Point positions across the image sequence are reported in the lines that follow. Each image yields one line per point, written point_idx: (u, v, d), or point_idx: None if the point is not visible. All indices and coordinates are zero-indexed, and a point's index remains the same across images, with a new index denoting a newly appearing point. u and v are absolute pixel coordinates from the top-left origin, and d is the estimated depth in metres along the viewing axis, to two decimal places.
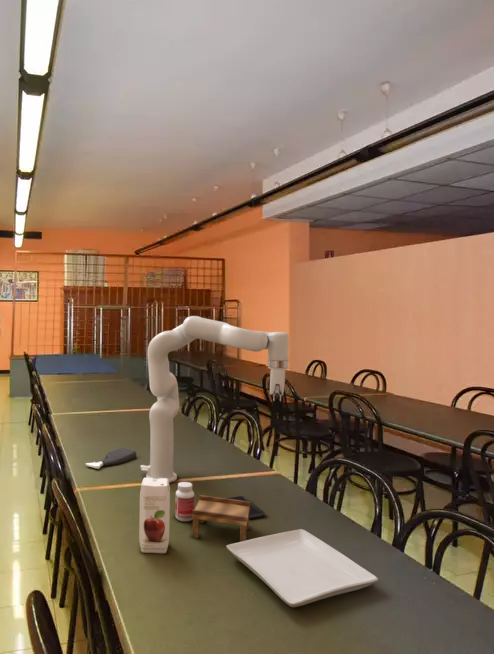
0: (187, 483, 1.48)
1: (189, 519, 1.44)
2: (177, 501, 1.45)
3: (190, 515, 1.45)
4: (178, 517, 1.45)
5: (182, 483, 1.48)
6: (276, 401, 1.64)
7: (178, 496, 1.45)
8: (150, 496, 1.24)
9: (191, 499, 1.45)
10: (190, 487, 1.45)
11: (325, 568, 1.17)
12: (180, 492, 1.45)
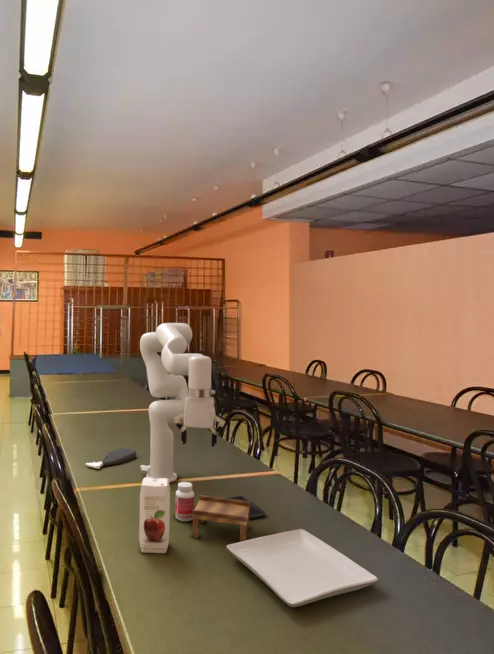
0: (187, 483, 1.48)
1: (189, 519, 1.44)
2: (177, 501, 1.45)
3: (190, 515, 1.45)
4: (178, 517, 1.45)
5: (182, 483, 1.48)
6: None
7: (178, 496, 1.45)
8: (150, 496, 1.24)
9: (191, 499, 1.45)
10: (190, 487, 1.45)
11: (325, 568, 1.17)
12: (180, 492, 1.45)
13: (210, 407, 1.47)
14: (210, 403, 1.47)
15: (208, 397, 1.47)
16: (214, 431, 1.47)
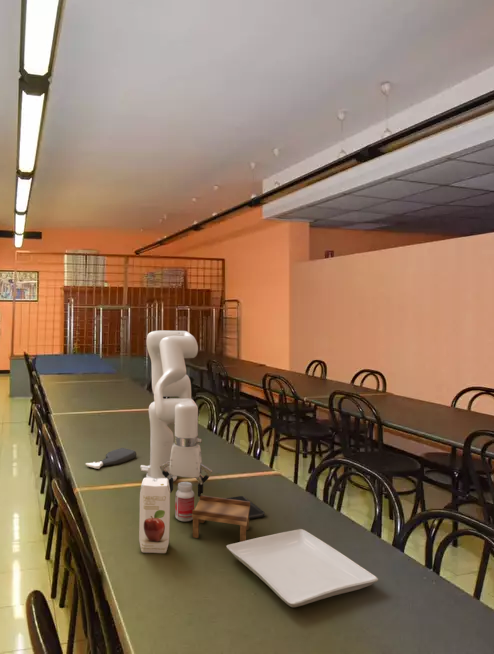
0: (187, 483, 1.48)
1: (189, 519, 1.44)
2: (177, 501, 1.45)
3: (190, 515, 1.45)
4: (178, 517, 1.45)
5: (182, 483, 1.48)
6: None
7: (178, 496, 1.45)
8: (150, 496, 1.24)
9: (191, 499, 1.45)
10: (190, 487, 1.45)
11: (325, 568, 1.17)
12: (180, 492, 1.45)
13: (196, 456, 1.44)
14: (196, 452, 1.44)
15: (194, 446, 1.44)
16: (200, 481, 1.44)
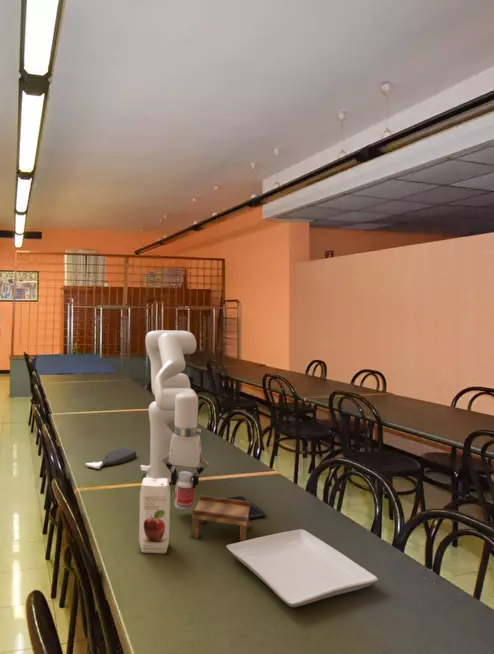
0: (188, 473, 1.49)
1: (188, 508, 1.46)
2: (177, 490, 1.46)
3: (189, 504, 1.46)
4: (177, 506, 1.46)
5: (183, 472, 1.49)
6: None
7: (178, 485, 1.46)
8: (150, 496, 1.24)
9: (191, 489, 1.46)
10: (191, 477, 1.46)
11: (325, 568, 1.17)
12: (180, 481, 1.46)
13: (196, 446, 1.44)
14: (196, 442, 1.44)
15: (194, 436, 1.44)
16: (195, 472, 1.45)
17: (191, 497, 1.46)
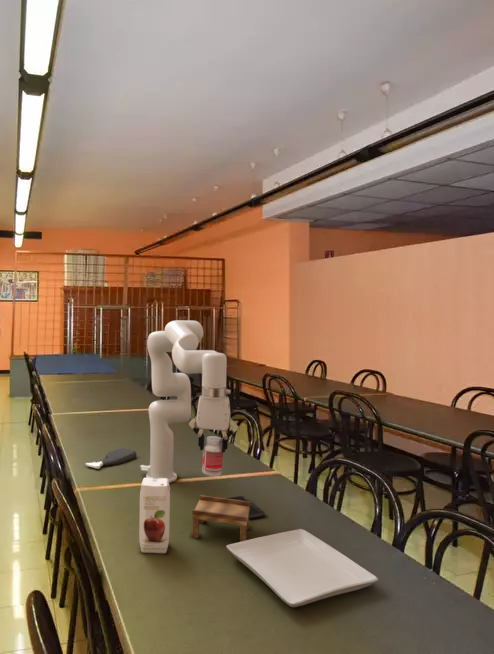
0: (216, 437, 1.41)
1: (217, 474, 1.38)
2: (205, 455, 1.39)
3: (218, 470, 1.38)
4: (205, 471, 1.39)
5: (210, 437, 1.41)
6: None
7: (206, 450, 1.38)
8: (150, 496, 1.24)
9: (220, 454, 1.38)
10: (219, 441, 1.39)
11: (325, 568, 1.17)
12: (209, 446, 1.39)
13: (225, 407, 1.37)
14: (225, 403, 1.37)
15: (223, 397, 1.37)
16: (225, 436, 1.37)
17: (220, 462, 1.38)
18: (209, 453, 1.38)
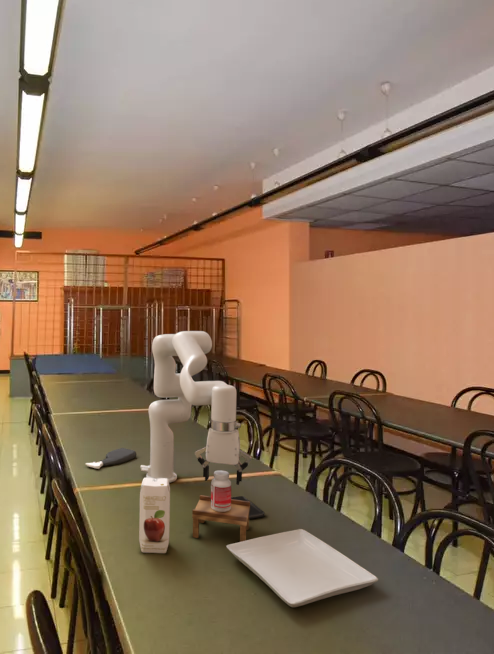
0: (223, 471, 1.39)
1: (226, 509, 1.36)
2: (213, 490, 1.37)
3: (227, 505, 1.36)
4: (214, 507, 1.36)
5: (218, 471, 1.39)
6: None
7: (214, 485, 1.36)
8: (150, 496, 1.24)
9: (228, 489, 1.36)
10: (227, 475, 1.37)
11: (325, 568, 1.17)
12: (216, 481, 1.37)
13: (235, 442, 1.34)
14: (235, 437, 1.34)
15: (233, 431, 1.35)
16: (239, 468, 1.35)
17: (229, 497, 1.36)
18: (217, 488, 1.36)
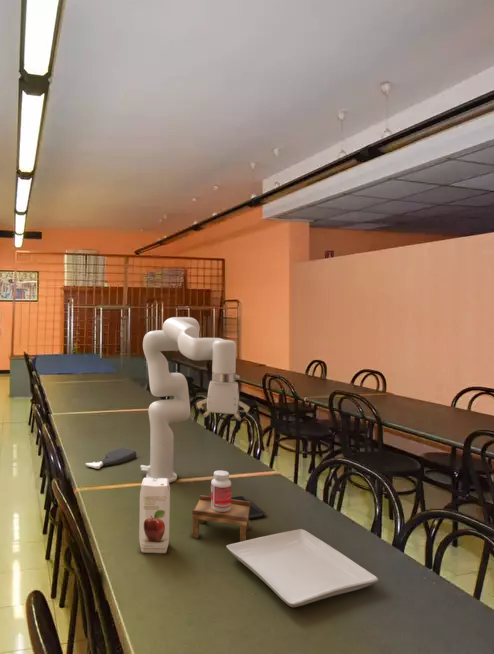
0: (223, 471, 1.39)
1: (226, 509, 1.36)
2: (213, 490, 1.37)
3: (227, 505, 1.36)
4: (214, 507, 1.36)
5: (218, 471, 1.39)
6: None
7: (214, 485, 1.36)
8: (150, 496, 1.24)
9: (228, 489, 1.36)
10: (227, 475, 1.37)
11: (325, 568, 1.17)
12: (216, 481, 1.37)
13: (234, 392, 1.43)
14: (234, 388, 1.43)
15: (232, 382, 1.43)
16: (238, 417, 1.44)
17: (229, 497, 1.36)
18: (217, 488, 1.36)
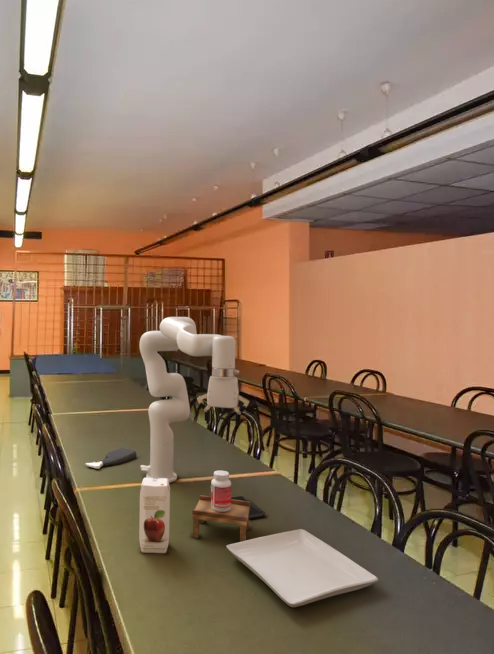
0: (223, 471, 1.39)
1: (226, 509, 1.36)
2: (213, 490, 1.37)
3: (227, 505, 1.36)
4: (214, 507, 1.36)
5: (218, 471, 1.39)
6: None
7: (214, 485, 1.36)
8: (150, 496, 1.24)
9: (228, 489, 1.36)
10: (227, 475, 1.37)
11: (325, 568, 1.17)
12: (216, 481, 1.37)
13: (234, 387, 1.46)
14: (234, 383, 1.46)
15: (232, 377, 1.47)
16: (238, 411, 1.47)
17: (229, 497, 1.36)
18: (217, 488, 1.36)
